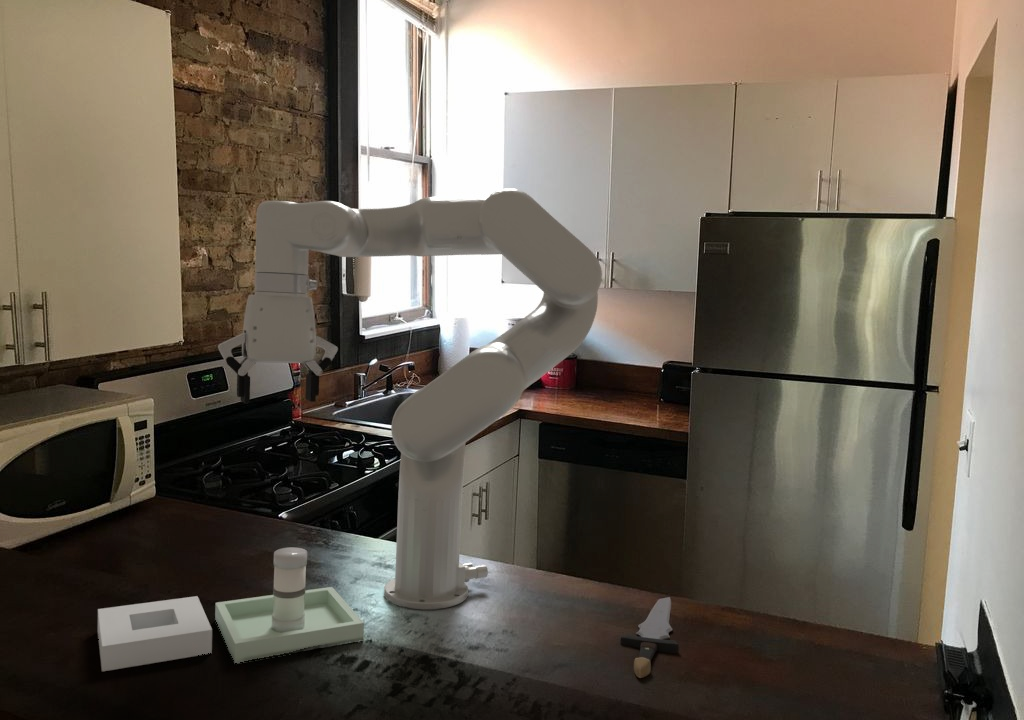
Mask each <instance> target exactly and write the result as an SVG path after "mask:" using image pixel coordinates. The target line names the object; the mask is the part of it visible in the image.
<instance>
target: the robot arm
mask: <svg viewBox="0 0 1024 720" xmlns="http://www.w3.org/2000/svg"><path fill="white" fill-rule="evenodd" d="M255 221H256V223H255V224H256V225H255V226H256V227H255V257H254V258H255V260H254V262H255V263H254V264H255V265H254V266H255V269H254V272H255V273H254V294H248V296H247V300H246V305H245V310H244V319H243V327H242V333H240V334H238V335H236V336H234V337H231V338H229V339H227V340H224V341H222V342H221V343H219V344H218V346H217V349H218V351H219V353H220V355H221V357H222V358H223V360H224V362H225V364H226V365H227V366H228V367H229V368H230V369H231V370H232V371H233V372H234V373H235V374H237V375H236V377H237V379H236V396H237V398H240V402H241V403H243V404H248V403H250V401H251V400H250V399H251V397H250V396H251V376H250V375H249V371H250V370H251V369H252V368H253V367H254V366H255V365H256V364H303V365H304V366H305V367H306V369H307V370H308V373H306V375H305V395H304V396H305V400H306V401H308V402H311V403H316V397H319V394H320V376H321V375H322V374H323V372H324V371H325V370H326V369H327V368H328V367H330V365H331V364H332V361H333V359H334V358H335V355H336V354H337V352H338V351H339V348H338V346H336V345H335V344H333V343H331V341H327V340H326V339H325V338H323V337H320V336H319V335H317V333H316V321H315V320H316V319H315V318H316V317H315V311H314V304H313V299H312V297H309V296H308V294H310V291H312V290H317V289H318V281H317V280H313V279H310V275H309V251H313V252H319V253H323V254H327V255H332V256H337V257H340V258H365V257H367V258H369V257H370V258H371V257H373V258H374V257H399V256H401V257H403V256H404V257H406V256H411V257H413V256H414V257H434V256H437V257H439V256H442V257H443V256H465V255H466V256H471V255H473V256H475V255H481V256H483V255H486V256H487V255H490V256H491V255H502V256H503V257H504V258H505V259H506V260H508V262H509V263H510V264H512V265H513V266H514V267H515V268H516V269H517V270H518V271H520V272H521V273H522V274H523V275H524V276H525V277H526V278H527V279H529V280H530V281H531V282H532V283H533V284H534V285H536V287H538V288H539V289H540V290H541V291H542V292H543V296H542V298H541V300H540V302H539V303H538V306H537V307H536V308H535V309H533V311H531V312H530V313H528V315H526V316H525V317H523V318H522V319H521V320H519V321H518V322H517V323H515V324H514V325H513V326H512V327H511V328H509V329H507V331H505V332H504V333H502V334H501V335H499V336H498V337H496V338H495V339H493V340H492V341H490V342H489V343H487V344H484V345H483V346H480V347H478V348H476V349H474V350H473V351H471V352H470V353H469V354H467V355H466V356H465V357H463V358H462V359H461V360H459V361H457V362H456V363H455V364H454V365H453V366H451V367H450V368H449V369H447V370H446V371H444V372H443V373H441V374H440V375H439V376H438V377H435V379H433V380H432V381H431V382H429V383H428V384H426V385H425V386H423V387H422V388H420V389H418V390H416V391H415V392H413V393H412V394H411V395H409V396H408V397H407V398H406V399H405V400H404V401H402V403H400V404H399V406H398V407H397V409H396V410H395V412H394V414H393V417H392V421H391V427H390V429H391V438H392V441H393V442H394V446H395V447H396V448H397V449H398V451H399V452H400V460H399V461H400V463H399V476H398V478H399V479H398V492H397V493H398V494H397V495H398V497H397V498H398V499H397V518H396V519H397V524H396V525H397V526H396V528H397V529H396V545H395V546H396V547H395V548H396V551H395V552H396V553H395V555H396V556H395V573H394V577H395V578H392V579H391V580H389V581H388V582H386V583H385V585H384V589H383V593H384V594H383V595H384V598H386V599H387V601H389V602H390V603H392V604H394V605H397V606H399V607H402V608H408V609H413V610H441V609H446V608H450V607H455V606H457V605H459V604H461V603H462V602H464V601H465V600H466V599H467V597H468V596H469V586H468V585H467V583H469V582H470V580H472V579H473V580H474V579H475V580H477V579H485V578H487V577H488V576H489V570H488V567H487V565H486V564H481V565H473V563H472V562H466V563H461V562H460V553H461V552H460V551H461V550H460V549H461V531H462V529H461V527H462V509H463V508H462V507H463V506H462V503H463V492H464V491H463V490H464V489H463V488H464V485H463V484H464V470H465V469H464V467H465V455H466V454H465V452H466V443H467V442H469V441H470V440H471V439H473V438H474V437H475V436H477V435H478V434H479V433H481V432H482V431H484V430H485V429H487V428H488V427H489V426H491V425H492V424H494V423H495V422H496V421H498V420H499V419H501V418H502V417H503V416H504V415H506V414H507V413H509V411H510V410H512V408H514V406H516V405H517V404H518V401H519V400H520V398H521V397H522V395H523V392H524V391H526V389H527V388H529V387H530V386H531V385H532V384H534V383H535V382H537V381H538V380H539V379H541V378H542V377H543V376H545V375H546V374H547V373H549V372H550V371H551V370H552V369H553V368H555V367H556V366H557V365H559V364H561V362H562V361H563V360H565V359H567V358H568V357H569V356H570V355H572V353H573V352H574V351H575V350H577V349H578V348H579V347H580V346H581V344H582V343H583V342H584V341H585V339H586V337H587V336H588V335H589V333H590V330H591V328H592V326H593V324H594V321H595V319H596V315H597V312H598V311H597V310H598V302H599V301H598V300H599V298H598V297H599V296H598V295H599V293H598V291H599V289H600V287H601V285H602V284H601V283H602V279H603V270H602V266H601V263H600V260H599V259H598V257H597V256H596V254H595V253H594V252H593V251H592V250H591V249H590V248H589V247H587V245H585V243H583V242H582V241H581V240H580V239H578V238H577V236H575V235H574V234H573V233H572V232H571V231H570V230H568V229H567V228H566V227H565V226H564V225H563V224H561V222H559V221H558V220H557V219H556V218H555V217H553V216H552V215H551V214H550V212H548V211H547V210H546V209H545V208H544V207H542V206H541V204H540V203H538V202H537V201H536V200H535V199H534V198H533V197H532V196H530V195H529V194H528V193H526V192H524V191H523V190H521V189H516V188H502V189H499V190H496V191H494V192H493V193H491V194H489V195H476V196H475V195H473V196H472V195H471V196H469V195H468V196H467V195H466V196H464V195H463V196H429V197H422V198H420V199H418V200H416V201H414V202H412V203H410V204H407V205H402V206H396V207H386V208H385V207H382V208H351V207H349V206H348V205H344V204H343V203H341V202H338V201H334V200H319V201H309V202H294V201H289V200H266V201H262V202H261V203H260V204H259V205H258V206H257V209H256V220H255ZM238 346H241V355H242V357H243V358H242V360H240V362H239V361H238V360H237V359H236V358H235V357H234V355H233V353H232V350H233V349H234V348H236V347H238ZM317 346H318V347H319V348H321V349H323V351H324V354H323V356H322V357H321V358H320V359H319V360H318V361H316V360H315V358H316V354H317V352H316V351H317Z"/></svg>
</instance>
